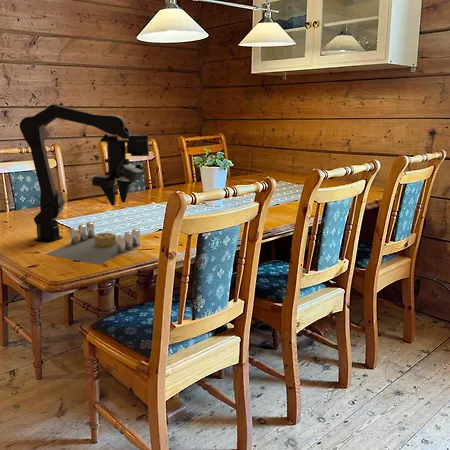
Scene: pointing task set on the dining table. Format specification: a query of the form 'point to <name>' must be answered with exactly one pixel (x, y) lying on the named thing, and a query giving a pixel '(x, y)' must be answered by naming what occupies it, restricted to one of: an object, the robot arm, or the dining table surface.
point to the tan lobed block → (105, 240)
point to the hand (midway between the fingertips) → (118, 203)
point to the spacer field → (122, 241)
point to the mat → (87, 252)
